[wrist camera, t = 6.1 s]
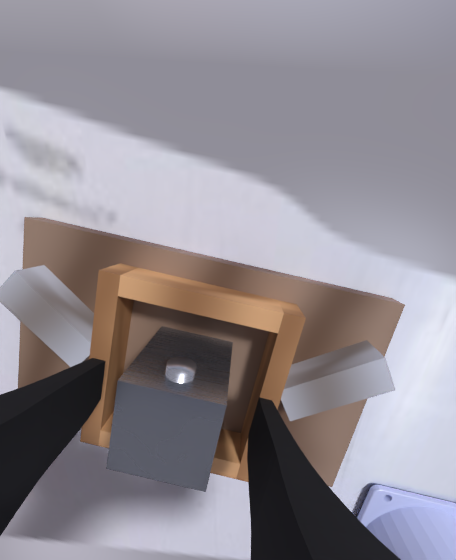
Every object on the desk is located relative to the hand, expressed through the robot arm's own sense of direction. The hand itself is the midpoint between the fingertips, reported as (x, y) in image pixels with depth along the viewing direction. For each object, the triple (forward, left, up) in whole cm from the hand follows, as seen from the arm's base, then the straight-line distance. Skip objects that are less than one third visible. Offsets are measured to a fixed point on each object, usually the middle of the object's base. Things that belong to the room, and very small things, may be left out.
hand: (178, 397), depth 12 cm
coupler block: (0, 0, -3) cm, 3 cm away
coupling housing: (0, 0, -4) cm, 4 cm away
